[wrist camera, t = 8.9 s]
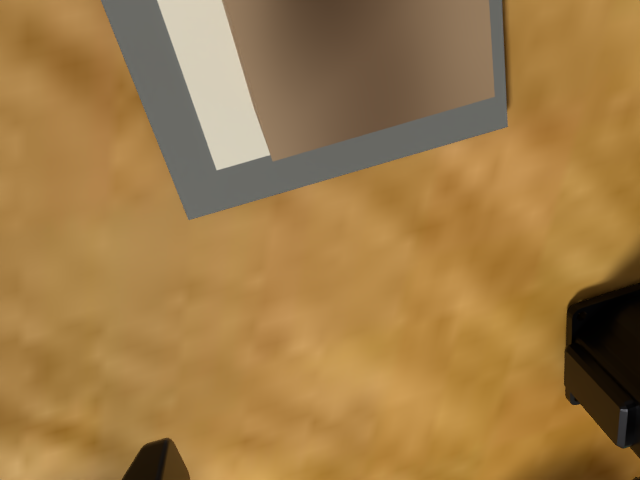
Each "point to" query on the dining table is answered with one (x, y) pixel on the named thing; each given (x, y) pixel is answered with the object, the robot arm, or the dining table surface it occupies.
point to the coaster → (239, 115)
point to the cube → (357, 64)
